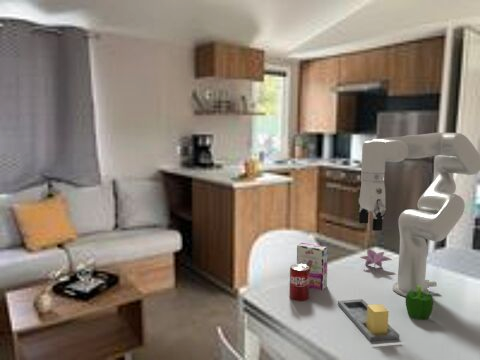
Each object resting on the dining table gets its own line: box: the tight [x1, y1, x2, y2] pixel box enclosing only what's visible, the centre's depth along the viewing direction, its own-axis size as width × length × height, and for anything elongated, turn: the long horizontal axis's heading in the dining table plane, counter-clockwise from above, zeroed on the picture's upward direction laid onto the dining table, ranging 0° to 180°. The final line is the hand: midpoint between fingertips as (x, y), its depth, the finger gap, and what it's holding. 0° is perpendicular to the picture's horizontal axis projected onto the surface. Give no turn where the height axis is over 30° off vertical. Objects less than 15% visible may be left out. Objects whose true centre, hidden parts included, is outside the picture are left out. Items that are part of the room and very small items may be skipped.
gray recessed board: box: [337, 298, 400, 343], centre depth 126 cm, size 9×24×2 cm, turn 9°
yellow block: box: [366, 303, 390, 334], centre depth 119 cm, size 4×4×8 cm
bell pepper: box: [405, 285, 434, 320], centre depth 129 cm, size 8×8×10 cm
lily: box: [360, 248, 392, 273], centre depth 172 cm, size 12×12×10 cm
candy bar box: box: [296, 242, 329, 291], centre depth 153 cm, size 11×5×16 cm, turn 56°
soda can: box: [288, 263, 311, 302], centre depth 142 cm, size 7×7×12 cm
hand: (370, 226), depth 135 cm, fingers open, 9 cm apart
